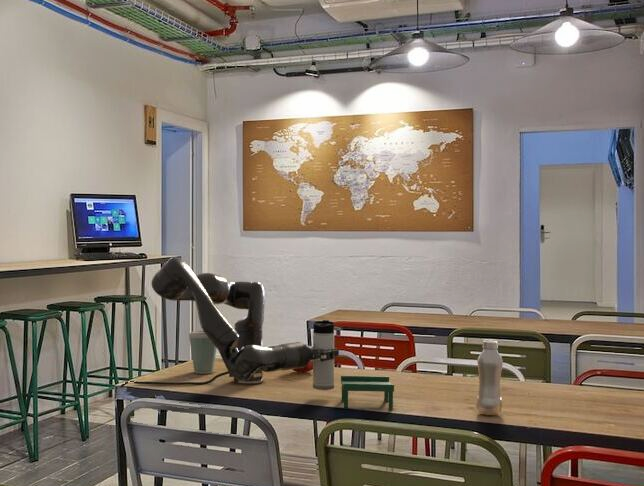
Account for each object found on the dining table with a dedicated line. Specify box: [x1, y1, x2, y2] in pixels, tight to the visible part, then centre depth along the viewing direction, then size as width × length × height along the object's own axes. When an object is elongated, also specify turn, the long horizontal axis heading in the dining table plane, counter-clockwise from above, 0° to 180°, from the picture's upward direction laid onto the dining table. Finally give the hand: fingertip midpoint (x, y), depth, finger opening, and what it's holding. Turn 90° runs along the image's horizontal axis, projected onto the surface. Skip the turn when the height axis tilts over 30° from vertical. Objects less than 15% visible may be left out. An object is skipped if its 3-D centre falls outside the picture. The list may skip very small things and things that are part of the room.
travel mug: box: [312, 319, 335, 391], centre depth 221 cm, size 6×7×20 cm
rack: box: [340, 375, 395, 411], centre depth 213 cm, size 14×12×7 cm
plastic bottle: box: [475, 339, 504, 416], centre depth 201 cm, size 6×7×20 cm
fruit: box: [291, 361, 313, 374], centre depth 262 cm, size 11×10×10 cm
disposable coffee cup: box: [188, 329, 217, 375], centre depth 263 cm, size 11×11×15 cm
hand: (329, 350), depth 223 cm, fingers closed on travel mug, 6 cm apart
